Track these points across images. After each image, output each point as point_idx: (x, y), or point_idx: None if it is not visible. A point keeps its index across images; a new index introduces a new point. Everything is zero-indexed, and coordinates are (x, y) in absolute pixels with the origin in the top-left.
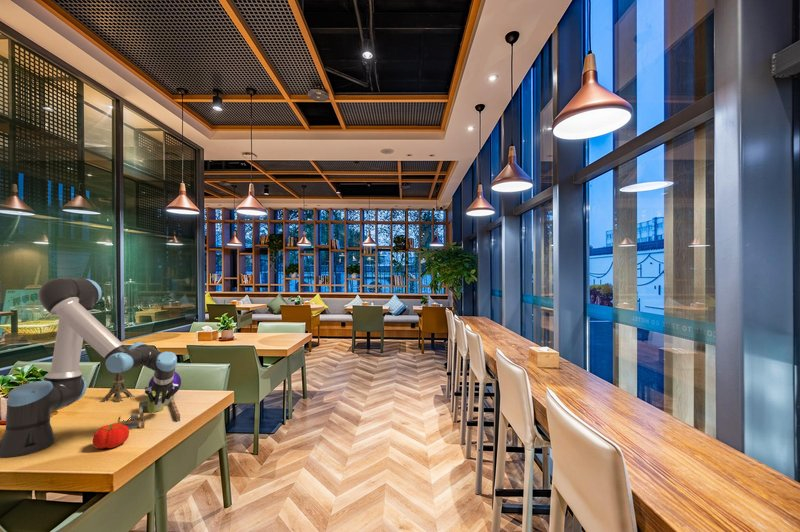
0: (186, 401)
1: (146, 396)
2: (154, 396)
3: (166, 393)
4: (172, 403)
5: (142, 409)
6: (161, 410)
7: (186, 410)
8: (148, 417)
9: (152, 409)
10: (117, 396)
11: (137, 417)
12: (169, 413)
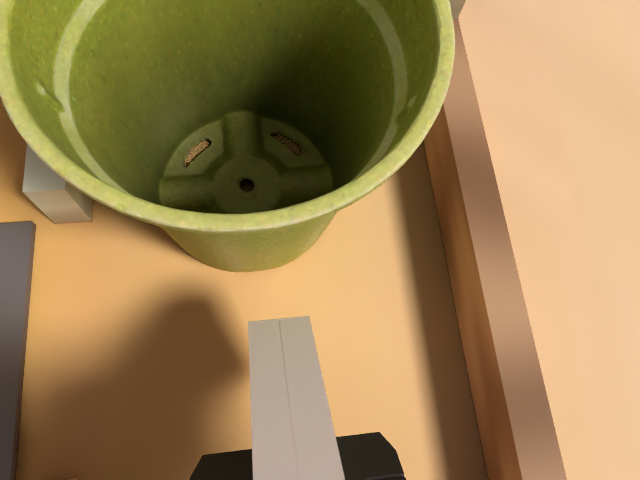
0: (566, 26)
1: (29, 99)
2: (187, 215)
3: (425, 89)
4: (464, 189)
5: (71, 198)
6: (317, 239)
7: (637, 414)
8: (153, 472)
9: (202, 257)
10: None
11: (6, 419)
12: (426, 432)
